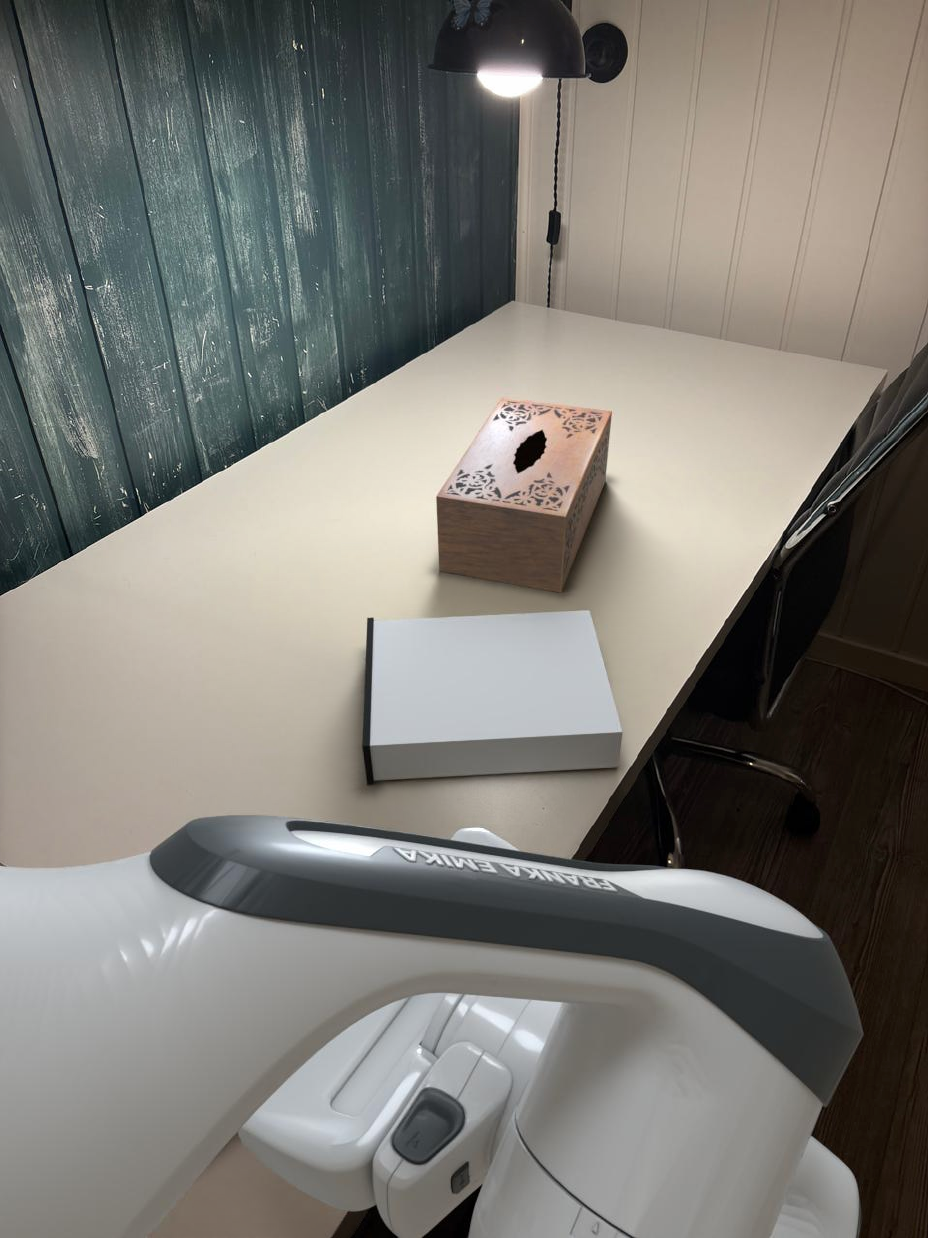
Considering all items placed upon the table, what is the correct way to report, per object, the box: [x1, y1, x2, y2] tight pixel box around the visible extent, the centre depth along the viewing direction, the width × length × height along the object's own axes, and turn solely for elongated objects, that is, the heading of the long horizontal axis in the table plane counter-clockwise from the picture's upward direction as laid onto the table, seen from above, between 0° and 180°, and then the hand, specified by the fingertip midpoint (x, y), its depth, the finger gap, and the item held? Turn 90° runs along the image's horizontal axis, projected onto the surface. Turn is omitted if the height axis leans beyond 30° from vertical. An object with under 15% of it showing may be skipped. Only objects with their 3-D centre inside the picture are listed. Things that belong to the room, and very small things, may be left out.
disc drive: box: [361, 609, 623, 785], centre depth 87 cm, size 18×22×5 cm
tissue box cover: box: [435, 396, 613, 593], centre depth 111 cm, size 26×14×10 cm, turn 162°
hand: (298, 920), depth 51 cm, fingers open, 8 cm apart
